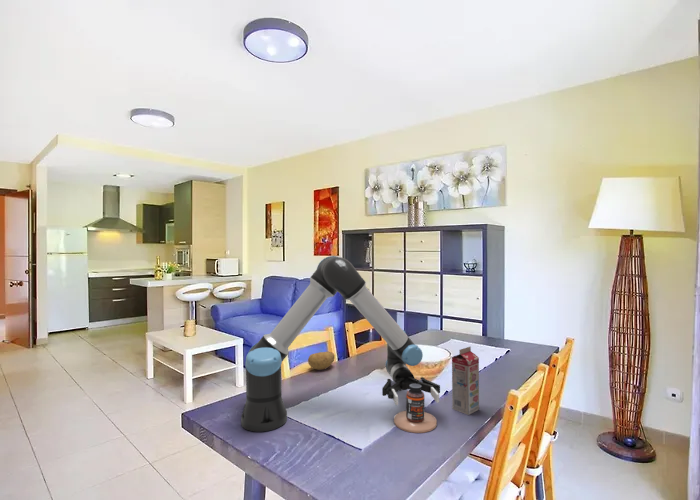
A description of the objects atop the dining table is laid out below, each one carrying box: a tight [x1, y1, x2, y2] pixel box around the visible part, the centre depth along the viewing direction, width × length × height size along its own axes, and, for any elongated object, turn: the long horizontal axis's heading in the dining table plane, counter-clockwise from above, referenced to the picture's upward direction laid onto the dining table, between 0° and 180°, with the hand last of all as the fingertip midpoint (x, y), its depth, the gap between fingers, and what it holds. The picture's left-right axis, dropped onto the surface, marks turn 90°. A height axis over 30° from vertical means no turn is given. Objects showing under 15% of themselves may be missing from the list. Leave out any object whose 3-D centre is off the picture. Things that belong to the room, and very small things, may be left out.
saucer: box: [393, 410, 438, 434], centre depth 126 cm, size 14×14×1 cm
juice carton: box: [451, 346, 480, 416], centre depth 135 cm, size 7×7×22 cm
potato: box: [307, 351, 336, 371], centre depth 181 cm, size 10×14×8 cm
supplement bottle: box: [405, 384, 425, 423], centre depth 126 cm, size 6×6×11 cm
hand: (417, 399), depth 122 cm, fingers open, 13 cm apart
